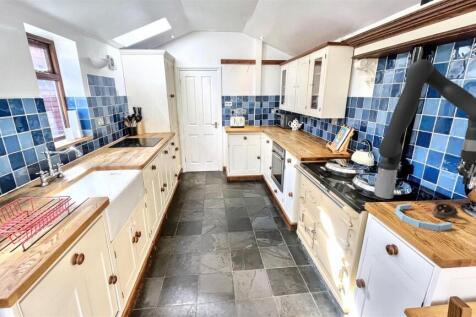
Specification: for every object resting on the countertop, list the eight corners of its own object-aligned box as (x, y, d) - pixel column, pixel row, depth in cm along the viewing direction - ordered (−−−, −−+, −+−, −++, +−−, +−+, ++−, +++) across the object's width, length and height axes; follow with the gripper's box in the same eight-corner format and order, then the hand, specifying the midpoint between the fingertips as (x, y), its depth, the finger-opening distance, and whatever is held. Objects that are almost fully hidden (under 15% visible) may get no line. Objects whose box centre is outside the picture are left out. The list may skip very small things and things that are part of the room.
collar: (407, 208, 119) (408, 203, 118) (451, 229, 98) (452, 223, 98) (384, 211, 116) (385, 206, 115) (424, 233, 96) (425, 227, 95)
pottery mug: (465, 222, 104) (463, 210, 101) (442, 229, 107) (440, 218, 103) (445, 205, 114) (443, 194, 111) (425, 212, 117) (422, 201, 114)
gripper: (475, 146, 109) (467, 180, 113) (452, 148, 106) (446, 183, 110) (494, 149, 101) (486, 185, 105) (471, 151, 99) (463, 188, 103)
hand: (465, 184), depth 108 cm, fingers closed
